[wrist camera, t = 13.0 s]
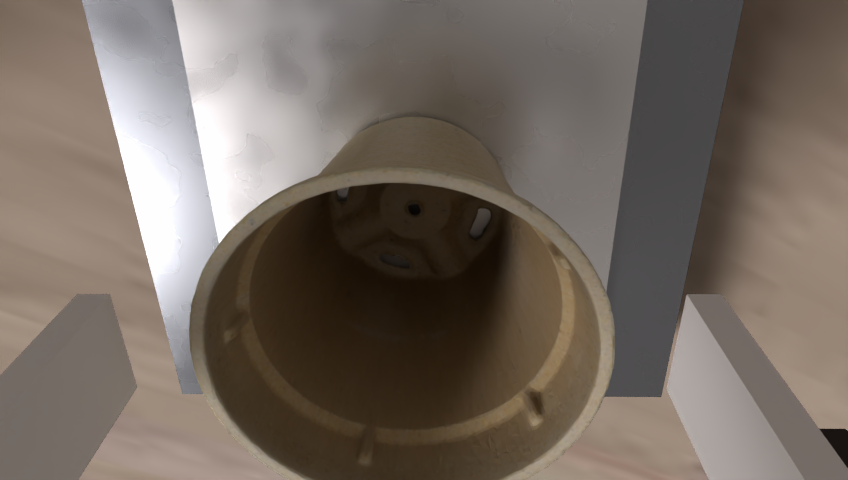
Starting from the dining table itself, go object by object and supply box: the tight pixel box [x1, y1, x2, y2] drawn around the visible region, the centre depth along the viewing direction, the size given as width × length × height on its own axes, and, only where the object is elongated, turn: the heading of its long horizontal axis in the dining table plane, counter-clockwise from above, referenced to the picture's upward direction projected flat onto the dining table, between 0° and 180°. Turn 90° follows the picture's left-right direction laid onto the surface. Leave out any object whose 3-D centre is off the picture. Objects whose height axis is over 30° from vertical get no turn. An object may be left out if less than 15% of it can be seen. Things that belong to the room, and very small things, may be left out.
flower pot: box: [189, 117, 615, 480], centre depth 18 cm, size 9×9×9 cm
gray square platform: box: [82, 0, 744, 397], centre depth 23 cm, size 20×18×4 cm
